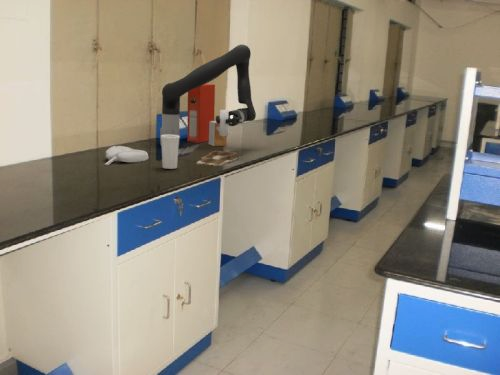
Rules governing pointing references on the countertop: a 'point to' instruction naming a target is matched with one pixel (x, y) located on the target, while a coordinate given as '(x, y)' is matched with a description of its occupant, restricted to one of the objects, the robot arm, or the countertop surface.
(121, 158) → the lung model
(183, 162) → the countertop surface
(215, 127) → the small box
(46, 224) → the countertop surface
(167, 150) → the cup
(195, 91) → the file binder
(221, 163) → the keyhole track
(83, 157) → the countertop surface
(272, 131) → the countertop surface
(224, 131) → the post
